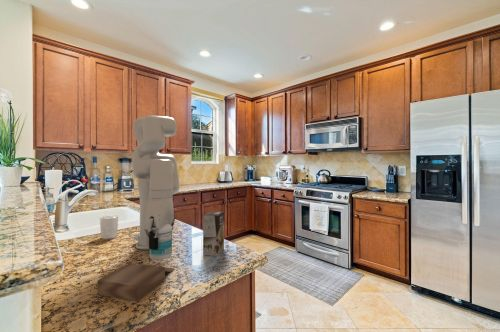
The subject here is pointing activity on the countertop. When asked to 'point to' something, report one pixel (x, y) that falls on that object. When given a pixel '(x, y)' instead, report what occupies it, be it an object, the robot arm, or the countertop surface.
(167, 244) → the pill bottle
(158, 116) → the robot arm
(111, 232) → the white cup
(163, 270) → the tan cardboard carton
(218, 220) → the coffee box
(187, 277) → the countertop surface
